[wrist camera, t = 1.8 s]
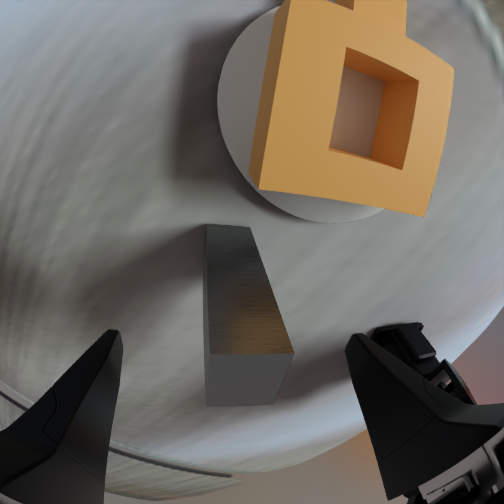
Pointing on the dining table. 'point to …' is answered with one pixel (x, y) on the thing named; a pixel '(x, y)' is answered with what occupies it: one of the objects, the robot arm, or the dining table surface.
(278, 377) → the dark grey post
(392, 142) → the bracket
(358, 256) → the dining table surface
